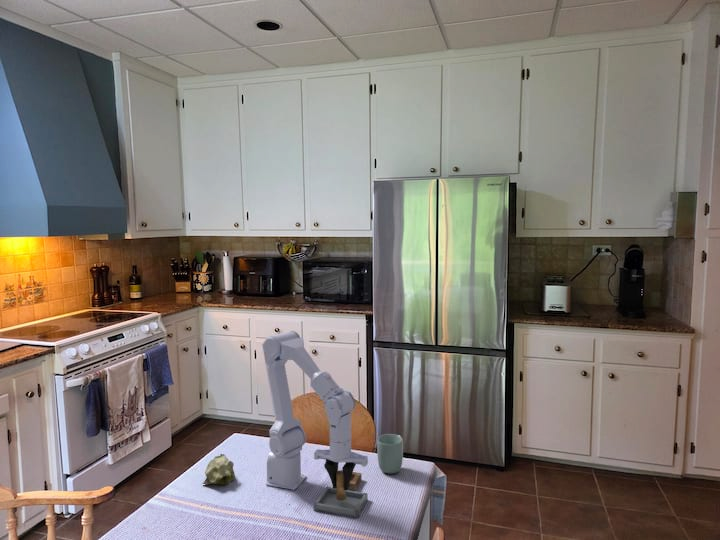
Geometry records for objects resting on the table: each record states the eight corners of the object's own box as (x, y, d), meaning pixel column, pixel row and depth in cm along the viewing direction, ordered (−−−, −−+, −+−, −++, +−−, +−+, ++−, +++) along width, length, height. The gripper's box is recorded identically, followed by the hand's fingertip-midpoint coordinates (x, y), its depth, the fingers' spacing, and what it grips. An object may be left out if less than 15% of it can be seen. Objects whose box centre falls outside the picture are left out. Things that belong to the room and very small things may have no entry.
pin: (335, 499, 128) (334, 474, 127) (338, 494, 130) (337, 469, 130) (344, 501, 127) (344, 475, 127) (347, 496, 130) (347, 471, 129)
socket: (333, 487, 138) (333, 480, 138) (341, 476, 144) (341, 470, 144) (354, 490, 136) (354, 484, 136) (361, 479, 142) (361, 473, 142)
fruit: (212, 477, 147) (216, 450, 148) (239, 483, 145) (243, 456, 146) (195, 487, 138) (199, 458, 139) (225, 493, 136) (229, 464, 137)
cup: (401, 478, 143) (401, 445, 142) (375, 475, 144) (375, 443, 143) (404, 465, 150) (404, 434, 150) (379, 463, 152) (379, 432, 151)
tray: (314, 510, 126) (313, 504, 126) (326, 492, 135) (326, 486, 135) (357, 518, 123) (357, 511, 123) (367, 499, 131) (367, 493, 131)
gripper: (370, 435, 129) (371, 484, 130) (320, 429, 133) (321, 476, 134) (363, 446, 122) (363, 497, 123) (310, 439, 127) (311, 489, 128)
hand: (341, 487), depth 128 cm, fingers closed on pin, 3 cm apart
